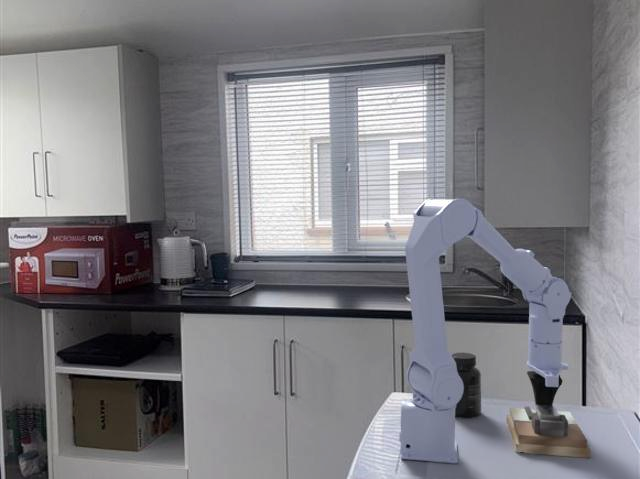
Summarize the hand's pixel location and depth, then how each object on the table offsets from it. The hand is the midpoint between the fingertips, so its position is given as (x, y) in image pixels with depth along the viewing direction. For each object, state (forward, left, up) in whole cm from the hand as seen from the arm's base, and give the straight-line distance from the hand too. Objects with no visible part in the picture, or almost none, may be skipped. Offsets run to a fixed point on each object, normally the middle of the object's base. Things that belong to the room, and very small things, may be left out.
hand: (543, 412), depth 104 cm
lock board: (0, -2, -4) cm, 5 cm away
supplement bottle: (-14, +8, -4) cm, 17 cm away
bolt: (0, -4, -1) cm, 4 cm away
